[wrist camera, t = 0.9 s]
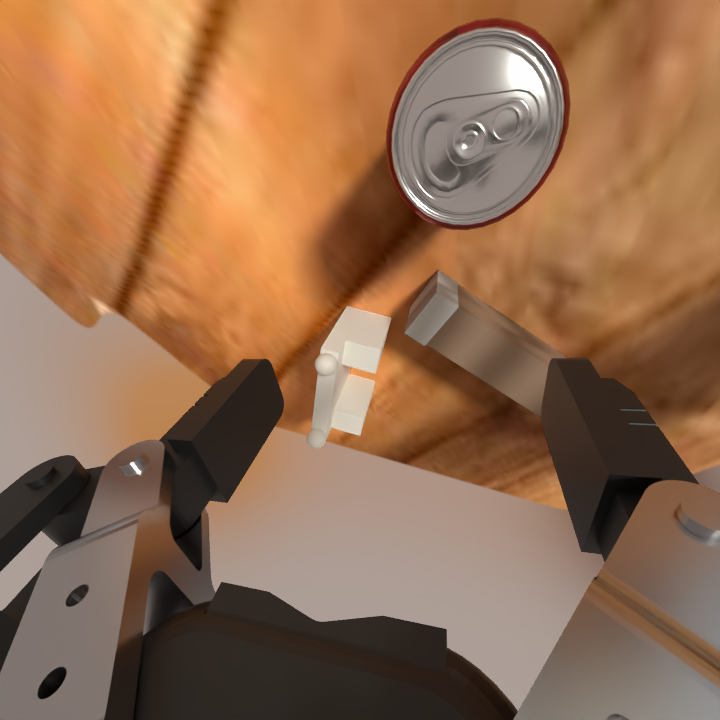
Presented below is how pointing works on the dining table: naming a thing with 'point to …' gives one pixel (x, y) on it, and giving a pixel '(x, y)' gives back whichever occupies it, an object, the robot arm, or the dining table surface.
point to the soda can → (478, 124)
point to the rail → (481, 340)
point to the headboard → (347, 373)
